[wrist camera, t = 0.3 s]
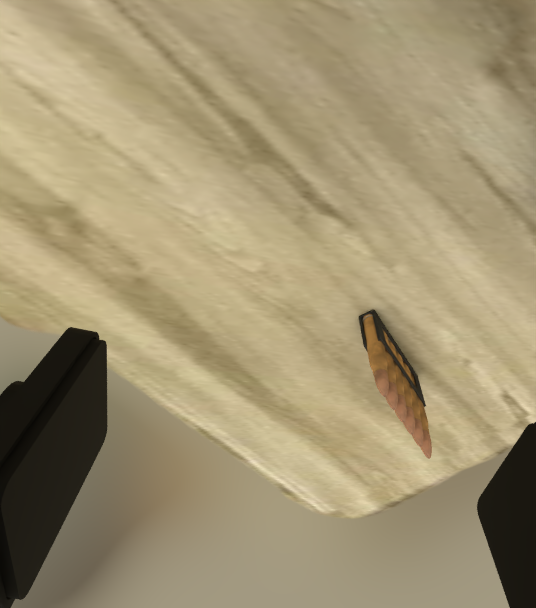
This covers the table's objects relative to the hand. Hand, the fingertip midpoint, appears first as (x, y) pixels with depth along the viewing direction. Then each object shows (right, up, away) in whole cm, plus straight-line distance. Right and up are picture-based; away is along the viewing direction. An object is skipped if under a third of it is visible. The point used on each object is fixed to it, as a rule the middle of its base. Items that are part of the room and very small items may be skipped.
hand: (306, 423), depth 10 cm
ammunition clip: (+13, -2, +41) cm, 43 cm away
